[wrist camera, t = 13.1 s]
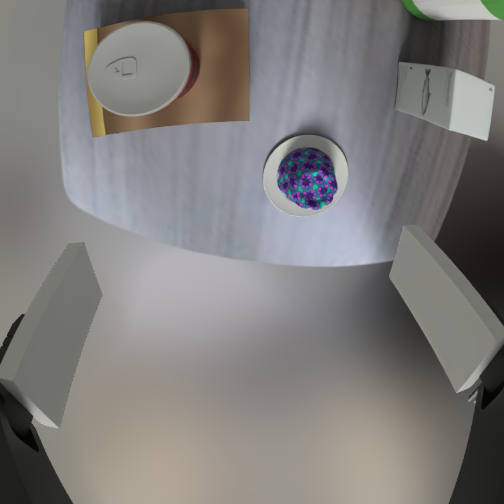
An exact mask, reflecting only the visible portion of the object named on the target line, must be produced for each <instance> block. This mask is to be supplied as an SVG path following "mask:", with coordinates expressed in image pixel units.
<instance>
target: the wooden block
mask: <svg viewBox="0 0 504 504" xmlns="http://www.w3.org/2000/svg"><path fill="white" fill-rule="evenodd" d="M138 21H151V22H157V23H161V24H164V25H167V26H169V27H170V28H172V29H174V30H175V31H177V32H178V33H179V34H180V35H182V36H183V37H184V38H185V39H186V40H187V41H188V42H189V43H190V44H191V45H192V46H193V47H194V48H195V50H196V51H197V53H198V56H199V59H200V66H201V67H200V74H199V76H198V79H197V81H196V83H195V85H194V86H193V87H192V88H191V90H190V91H189V92H187V93H186V94H185V95H184V96H182V97H181V98H179V99H177V100H176V101H174V102H173V103H171V104H170V105H168V106H166V107H164V108H163V109H161V110H159V111H156V112H154V113H151V114H147V115H142V116H122V115H117V114H115V113H112V112H110V111H108V110H107V109H105V108H103V107H102V106H101V105H100V104H99V103H98V102H97V101H96V100H95V98H94V96H93V95H92V93H91V90H90V88H89V85H88V77H87V74H88V65H89V62H90V58H91V56H92V54H93V52H94V50H95V48H96V47H97V46H98V44H99V43H100V42H101V41H102V40H103V39H104V38H105V37H106V36H107V35H108V34H109V33H111V32H112V31H114V30H115V29H117V28H119V27H121V26H123V25H126V24H129V23H133V22H138ZM84 54H85V71H86V84H87V95H88V104H89V113H90V121H91V128H92V135H93V138H94V137H99V136H104V135H108V134H114V133H120V132H126V131H133V130H140V129H147V128H155V127H164V126H173V125H183V124H195V123H209V122H226V121H249V25H248V9H214V10H199V11H188V12H179V13H171V14H164V15H157V16H151V17H146V18H140V19H135V20H130V21H125V22H121V23H117V24H112V25H108V26H104V27H101V28H95V29H91V30H88V31H85V32H84Z"/></svg>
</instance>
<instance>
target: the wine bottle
mask: <svg viewBox="0 0 504 504" xmlns="http://www.w3.org/2000/svg"><path fill="white" fill-rule="evenodd" d="M401 1H402V3H403V5H404V6H405V7H406V8H407V10H408V11H409V12H410V13H412V14H413V15H414V16H416V17H418V18H420V19H423V20H426V21H437V20H463V19H485V20H504V0H401Z"/></svg>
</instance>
